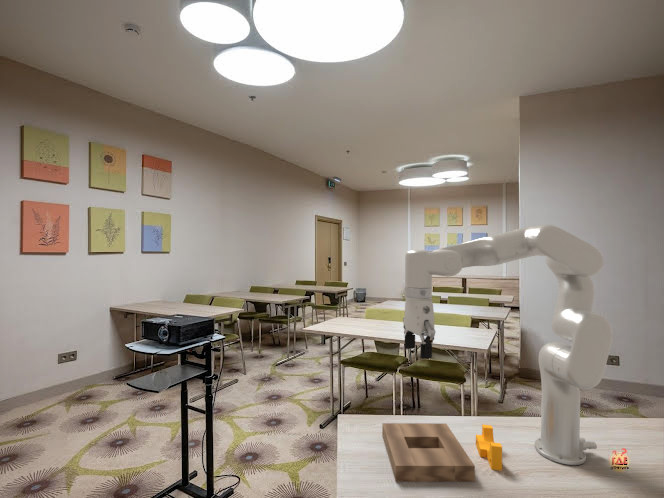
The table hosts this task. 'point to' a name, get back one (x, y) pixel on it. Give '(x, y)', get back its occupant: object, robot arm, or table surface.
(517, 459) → the table surface
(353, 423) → the table surface
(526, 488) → the table surface
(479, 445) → the orange curved block
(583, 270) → the robot arm
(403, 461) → the cutout shelf
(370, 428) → the table surface
